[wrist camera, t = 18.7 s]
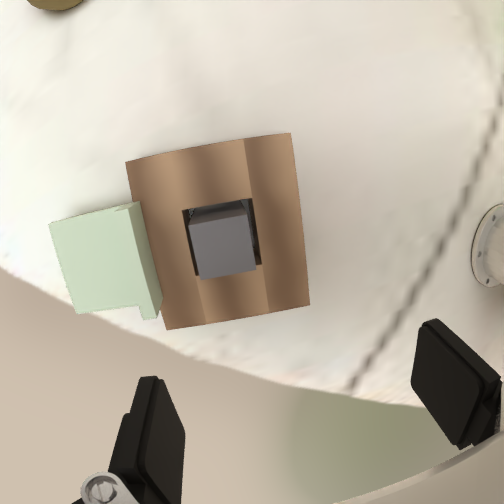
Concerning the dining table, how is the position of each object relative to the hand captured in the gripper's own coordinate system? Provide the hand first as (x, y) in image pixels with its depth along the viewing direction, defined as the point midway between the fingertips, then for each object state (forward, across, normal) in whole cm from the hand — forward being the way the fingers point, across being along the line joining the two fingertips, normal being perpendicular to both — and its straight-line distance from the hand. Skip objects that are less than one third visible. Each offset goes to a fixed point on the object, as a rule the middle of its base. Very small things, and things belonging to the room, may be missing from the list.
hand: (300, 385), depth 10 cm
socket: (+23, +2, -1) cm, 24 cm away
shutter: (+18, +13, -1) cm, 22 cm away
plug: (+24, +3, -1) cm, 24 cm away
